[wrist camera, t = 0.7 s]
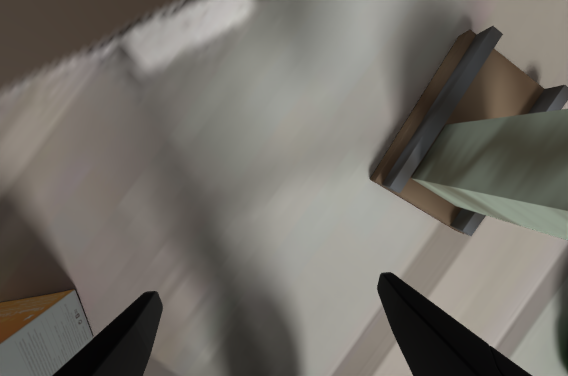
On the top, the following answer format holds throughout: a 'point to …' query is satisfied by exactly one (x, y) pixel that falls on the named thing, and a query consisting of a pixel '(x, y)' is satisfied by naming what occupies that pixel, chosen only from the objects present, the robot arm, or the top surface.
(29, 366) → the small box
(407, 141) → the walnut chute
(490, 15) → the top surface
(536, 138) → the sage block
